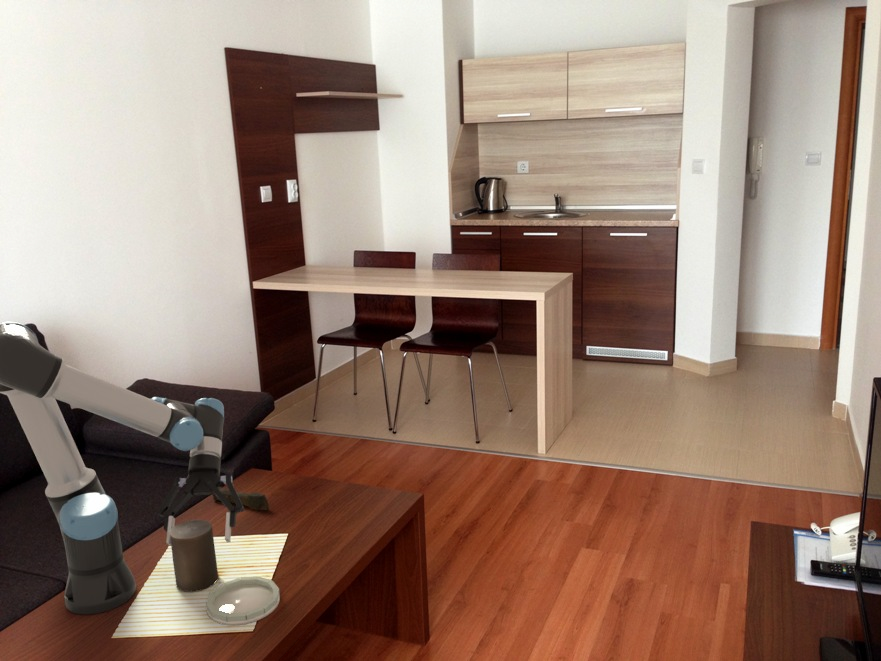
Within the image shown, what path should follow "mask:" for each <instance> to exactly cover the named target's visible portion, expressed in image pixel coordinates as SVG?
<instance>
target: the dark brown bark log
mask: <svg viewBox="0 0 881 661" xmlns="http://www.w3.org/2000/svg"><path fill="white" fill-rule="evenodd" d="M217 488H218V489H219V491H220V492H221V493H222V494H223V495H224V496H225V498H226V499H227V500H228V501H229V502H230V503H231V504H236V503H235V501H234V499H233V497H232V495H231V492H230V490H229V488H228V489H227V488H223V486H217ZM236 492H237V494H238V496H239V498H240V501H241V503H242V505H243V506H246V507H248V508H249V509H250V510H254V509H255V510H254V511H268V510H269V502H268V500H267V499H268V498H267V497H266V495H265V494H263V493H259V492H256V491H255V492H251V493H246V492H242V491H237V490H236ZM211 494H212V495H211V496H212V497H213V500H214V501H218V502H221V500H220V499H219V498H218V497H217V496H216V495H215V494H214V493H211Z"/></svg>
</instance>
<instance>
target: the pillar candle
mask: <svg viewBox="0 0 881 661" xmlns="http://www.w3.org/2000/svg"><path fill="white" fill-rule="evenodd" d="M169 533H170V540H171V546H170V547H171V553H172V556H171V557H172V562H173V570H174V578H175V579H174V580H175V585H177V586H176V588H177V587H178V588H179V589H178V588H177V589H178V590H180V589H181V590H180V591H182V590H183V591H184V592H193V593H194V592H199V591H202V590H203V591H204V590H205V589H206V590H207V589H208V588H210V587H212V586H213V585H215V584H214V582H215V581H216V580H217V579H219V572H218V565H217V564H218V562H217V556H216V548H215V541H214V530H213V525H212V523H211V522H210V521H209V520H205V519H197V518H196V519H190V520H187V521H184V522H180V523H178V524H176V525H174V527H173V528H172V529H171V530H170V531H169ZM217 581H218V580H217ZM217 581H216V582H217Z"/></svg>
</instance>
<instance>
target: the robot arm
mask: <svg viewBox="0 0 881 661" xmlns="http://www.w3.org/2000/svg"><path fill="white" fill-rule="evenodd" d="M0 394H2V395H5V396H7V398H8V400H9V403H10V404H11V407H12V408H13V411H14V414H15V415H16V417H17V419H18V421H19V423H20V425H21V429H22V430H23V433H24V434H25V436H26V438H27V441H28V443H29V444H30V447H31V450H32V451H33V453H34V455H35V457H36V460H37V462H38V464H39V466H40V468H41V471H42V472H43V475H44V477H45V479H46V482H47V486H46V488H45V490H44V493H45V496H46V499H47V500H48V502H49V505H50V507H51V508H52V511H53V513H54V516H55V518H56V521H57V523H58V526H59V529H60V533H61V536H62V539H63V544H64V550H65V551H64V552H65V556H66V561H67V570H68V575H67V581H66V586H65V590H64V604H65V608H66V609H67V610H68V611H69V612H71V613H73V614H75V615H76V614H77V615H95V614H96V615H97V614H101V613H104V612H108V611H111V610H113V609H116V608H118V607H120V606H122V605H123V604H125V603H126V602H127V601H129V600H130V599H131V598H132V597H133V596H134V594H135V593H136V589H137V585H136V579H135V576H134V574H133V573H132V571H131V569H130V567H129V566H128V564H127V562H126V560H125V559H124V553H123V552H124V551H123V546H122V540H121V532H120V526H119V519H118V517H119V516H118V514H119V513H118V508H117V506H116V503H115V501H114V500H113V498H112V497H111V496H110V495H108V494H107V493H106V491H105V490H104V488H103V486H102V484H101V482H100V480H99V477H98V475H97V473H96V471H95V470H94V469H92V468H88V467H86V465H85V463H84V461H83V458H82V456H81V454H80V452H79V449H78V446H77V445H76V442H75V440H74V438H73V436H72V434H71V431H70V429H69V427H68V425H67V423H66V421H65V418H64V415H63V413H62V411H61V409H60V406H59V404H58V402H57V401H60V402H63V403H66V404H68V405H71V406H73V407H75V408H79V409H82V410H83V411H84V410H85V411H87V412H89V413H93V414H95V415H98V416H99V417H102V418H105V419H108V420H110V421H114V422H116V423H118V424H121V425H123V426H126V427H129V428H132V429H134V430H137V431H139V432H142V433H145V434H146V435H147V434H148V435H151V436H152V437H156V438H158V439H160V440H162V441H165V442H167V443H170V445H172V446H173V447H174V448H176V449H178V450H180V451H184V452H187V451H190V452H189V457H190V458H189V461H188V462H189V463H188V471H187V472H188V474H187V477H183V478H182V477H179V476H178V475H177V476H175V477H174V479H173V483H172V486H171V487H170V489H169V491H168V493H167V494H166V496H165V497H164V499H163V501H162V503H161V504H160V505H159V507H158V508H157V510H156V513H157V514H158V515H159V516H160V517H161V518H164V519H163V520H164V521H163V530H164V531H165V532H167V533H166V541H165V543H166V544H167V546H168V547H171V540H170V533H169V531H170V530H171V529H172V528H173V527H175V526H176V525H175V524H176V523H175V522H176V518H175V517H174V516H175V515H176V514H177V513H178V512H179V511H180V510H181V509H182V507H183V506H184V505H185V504H186V503H187V502H188V501H189V500H190V499H191V498H193V497H194V495H196V496H203V495H205V496H210V495H211V494H212V493H214V494H215V495H216V496H217V497H218V498H219V499H220V500H221V501H220V502H221V503H222V504H223V505H224V507H225V508H226V509H227V510H228V511H226V516H225V527H224V528H225V529H224V530H225V532H224V540H225V541H226V542H227V543H231V536H232V528H235V527H236V525H237V523H236V522H237V515H238V513H243V512H244V511H245V507H244V505H242V503H241V501H240V498H239V496H238V494H237V492H238V491H237V490H236V488H235V487H234V486H235V485H234V480H233V476H232V475H231V473H226V474H225V475H221V461H222V460H221V457H222V450H223V449H222V448H223V433H224V432H223V430H224V422H225V406H224V404H223V403H222V401H221V400H219V399H216V398H213V397H210V398H207V397H203V398H200V399H199V398H198V399H197V400H196V401H194V404H192V403H188V402H183V401H179V400H173V399H169V398H167V397H165V398H164V397H159V396H153V397H152V398H148V397H146V396H144V395H142V394H139V393H137V392H134V391H131V390H129V389H127V388H124V387H122V386H120V385H117V384H115V383H113V382H110V381H107V380H105V379H103V378H100V377H97V376H95V375H93V374H90V373H88V372H86V371H83V370H81V369H78V368H76V367H73V366H72V365H69V364H66V361H65V359H64V358H63V357H61V356H59V355H56V354H55V353H52V352H51V351H49V350H47V349H46V348H44V347H43V346H42V345H41V344H40V343H39V340H38V337H37V334H36V333H35V332H34V331H33V330H32V329H31V328H29V327H28V326H27V325H25V324H22V323H19V322H16V321H4V322H0ZM222 482H223V484H224V485H226V486H227V488H228V490H230V492H231V495H232V497H233V499H234V501H235V503H234V504H235V505H232V504H233V503H231V502H229V501H228V500H227V499H226V498H225V496H224V495H223V494H222V493H221V492H220V491H219V489H218V488H217V487H219V485H220V484H221V483H222ZM185 484H186V485H187V487H185V489H184V490H183V492H182V493H181V495H180V496H179V497H178V498H177V499H176V497H177V495H178V494H179V492H180V490H181V488H183V487H184V485H185ZM236 491H237V492H236ZM175 499H176V500H175Z"/></svg>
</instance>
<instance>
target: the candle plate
mask: <svg viewBox="0 0 881 661" xmlns="http://www.w3.org/2000/svg"><path fill="white" fill-rule="evenodd" d="M280 596H281V595H280V587H278V585H277V584H276V583H275V581H273V580H272V579H269V578H267V577H266V578H265V577H262V576H244V577H238V578H235V579H232V580H228V581H225V582H223V583H221V584H220V585H218V586H217V587H215V589H213V590H212V591H211V592H210V593H209V595H208V596H207V598H206V599H207V600H206V601H205V608H206V614H207V616H208V617H209V618H210V619H211V620H212V621H213V622H215V623H218V624H221V625H225V626H242V625H247V623H248V624H252V623H254V622H257V621H259V620H262V619H264V618H266V617H267V616H269V615H270V614H272V612H274V611H275V610H276V609H277V608H278V606H279V603H280V601H281V600H280V599H281V597H280ZM225 604H233V605H234V606H235V609H234V612H233V613H231V614H229V613H225V612H222V611H219V608H220V607H221V606H222V605H225Z"/></svg>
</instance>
